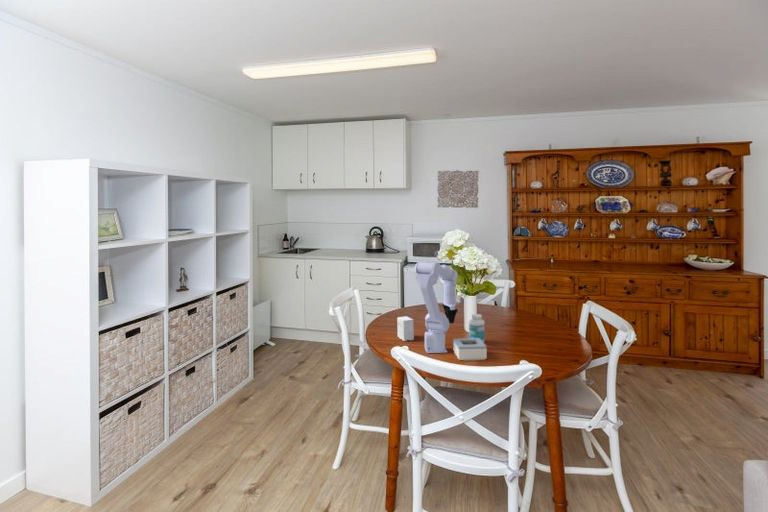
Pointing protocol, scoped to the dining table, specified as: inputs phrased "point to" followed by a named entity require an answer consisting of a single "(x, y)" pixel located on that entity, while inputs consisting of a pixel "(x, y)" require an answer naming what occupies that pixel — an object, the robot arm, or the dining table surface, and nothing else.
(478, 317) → the pill bottle
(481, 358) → the money box
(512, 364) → the dining table surface
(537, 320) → the dining table surface
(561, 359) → the dining table surface
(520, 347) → the dining table surface
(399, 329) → the small box
